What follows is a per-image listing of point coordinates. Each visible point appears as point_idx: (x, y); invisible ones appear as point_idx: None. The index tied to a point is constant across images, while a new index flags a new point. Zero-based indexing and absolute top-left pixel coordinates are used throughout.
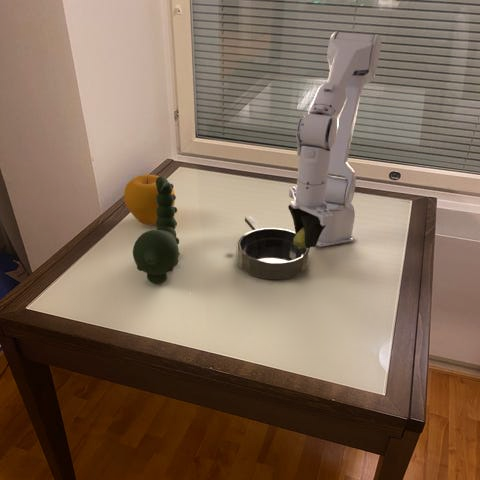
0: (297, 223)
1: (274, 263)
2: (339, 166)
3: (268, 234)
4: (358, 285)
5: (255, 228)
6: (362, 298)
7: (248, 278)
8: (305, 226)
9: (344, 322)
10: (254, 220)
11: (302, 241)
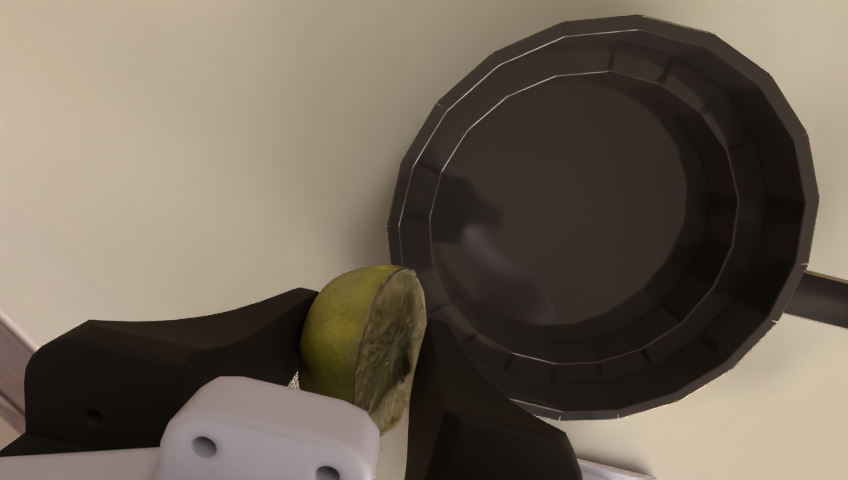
0: (432, 375)
1: (429, 117)
2: None
3: (729, 318)
4: None
5: (820, 282)
6: None
7: (524, 26)
8: (185, 331)
9: (54, 170)
10: None
11: (324, 290)
